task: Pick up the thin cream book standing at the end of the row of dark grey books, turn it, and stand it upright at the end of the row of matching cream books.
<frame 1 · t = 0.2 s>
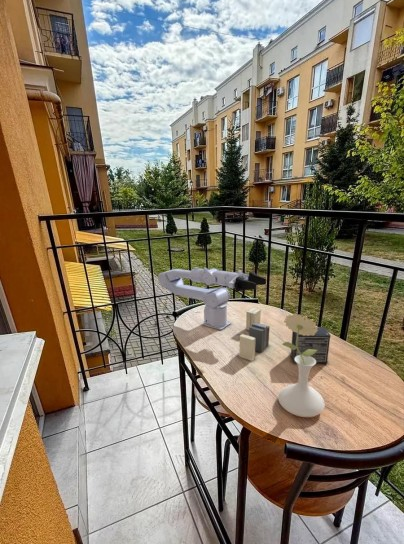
hand: (260, 283, 101), 22 cm above the table, tool horizontal, fingers open, 7 cm apart
cream books: (253, 328, 116), on the table
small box: (308, 359, 94), on the table
grey books: (258, 347, 102), on the table
flower in vase: (297, 404, 74), on the table
cream book: (247, 357, 95), on the table
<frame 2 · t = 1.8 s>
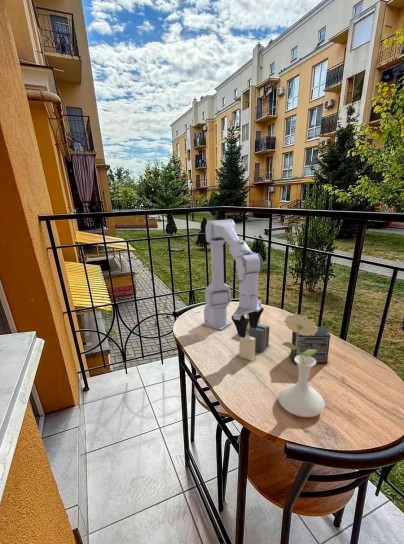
hand: (247, 332, 92), 10 cm above the table, tool pointing down, fingers open, 7 cm apart
nothing on the table moved.
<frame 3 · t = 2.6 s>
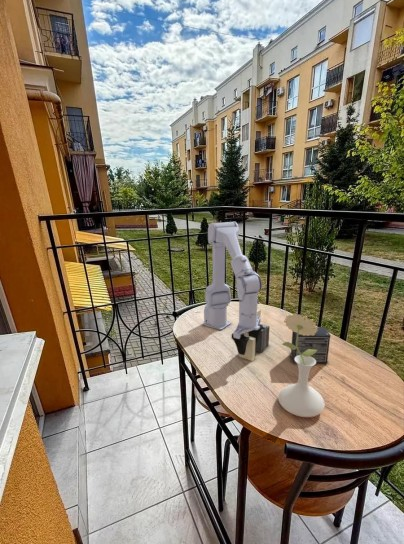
hand: (247, 349, 94), 3 cm above the table, tool pointing down, fingers open, 7 cm apart
nothing on the table moved.
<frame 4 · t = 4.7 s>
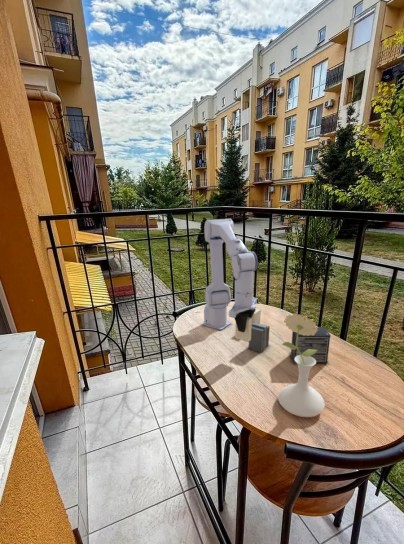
hand: (243, 329, 93), 10 cm above the table, tool pointing down, fingers closed on cream book
cream book: (243, 339, 94), point 7 cm above the table, touching gripper
everything else where it was.
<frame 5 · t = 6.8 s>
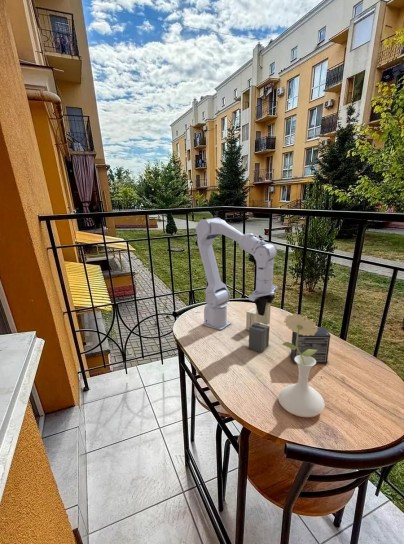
hand: (262, 313, 104), 10 cm above the table, tool pointing down, fingers closed on cream book
cream book: (262, 322, 105), point 7 cm above the table, touching gripper
everything else where it was.
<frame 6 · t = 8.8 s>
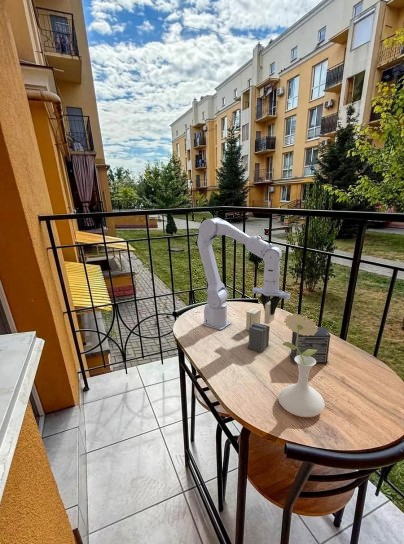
hand: (269, 313, 109), 8 cm above the table, tool pointing down, fingers closed on cream book
cream book: (269, 321, 110), point 5 cm above the table, touching gripper
everything else where it was.
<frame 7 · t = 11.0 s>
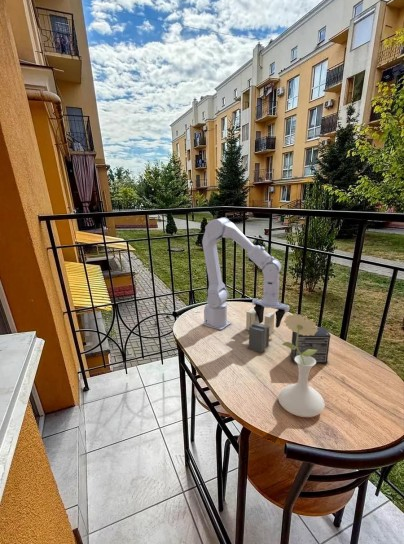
hand: (269, 324, 111), 4 cm above the table, tool pointing down, fingers open, 6 cm apart
cream book: (268, 332, 112), on the table
everything else where it was.
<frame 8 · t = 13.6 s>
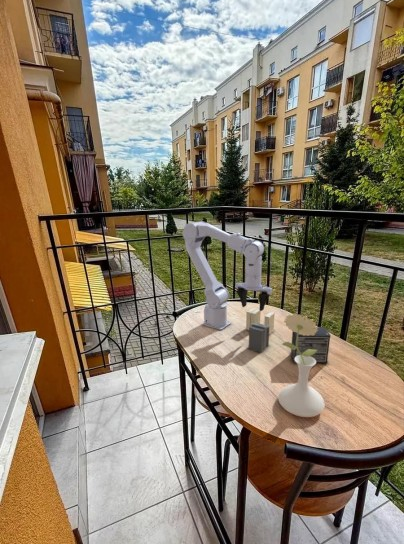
hand: (252, 308, 109), 10 cm above the table, tool pointing down, fingers open, 7 cm apart
nothing on the table moved.
at the end: cream book 0.0 cm from the target spot on the table beside the cream books, on the table; cream book tilted 0°; the gripper is holding nothing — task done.
